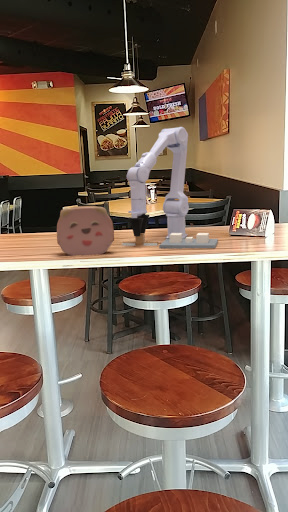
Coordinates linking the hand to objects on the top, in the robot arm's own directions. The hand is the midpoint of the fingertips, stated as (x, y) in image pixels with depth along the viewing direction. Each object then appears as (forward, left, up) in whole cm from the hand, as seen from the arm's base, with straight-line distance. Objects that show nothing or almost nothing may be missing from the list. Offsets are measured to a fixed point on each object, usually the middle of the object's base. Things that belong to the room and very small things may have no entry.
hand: (139, 234), depth 169 cm
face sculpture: (+18, -15, -4) cm, 24 cm away
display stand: (0, +19, -4) cm, 19 cm away
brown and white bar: (0, 0, -4) cm, 4 cm away
